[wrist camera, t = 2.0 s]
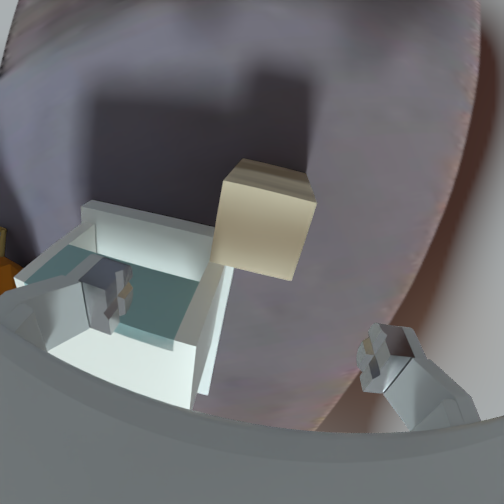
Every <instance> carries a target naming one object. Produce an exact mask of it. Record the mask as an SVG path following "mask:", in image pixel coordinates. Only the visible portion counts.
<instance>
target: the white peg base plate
mask: <svg viewBox="0 0 504 504" xmlns="http://www.w3.org/2000/svg"><path fill="white" fill-rule="evenodd" d="M81 220H82V223H83V222H88V223H91V224H94V226H95V244H96V253H98V254H102V255H105V256H108V257H112V258H115V259H119V260H122V261H125V262H129V263H132V264H136V265H139V266H143V267H146V268H150V269H154V270H157V271H161V272H165V273H168V274H172V275H176V276H180V277H183V278H187V279H191V280H195V281H199V282H200V280H201V278H202V275H203V273H204V271H205V269H206V267H207V265H208V262H209V260H210V254H211V248H212V242H213V236H214V230H215V227H212V226H207V225H203V224H199V223H194V222H190V221H186V220H181V219H177V218H173V217H168V216H164V215H159V214H155V213H150V212H146V211H141V210H137V209H132V208H128V207H123V206H119V205H114V204H110V203H105V202H100V201H96V200H91V201H89V202H87V203H86V204H84V205H82V206H81ZM234 269H235V268H234V267H230V266H226V269H225V274H224V279H223V285H222V290H221V295H220V300H219V306H218V311H217V316H216V322H215V327H214V333H213V338H212V343H211V346H210V350H209V353H208V357H207V360H206V364H205V367H204V370H203V374H202V377H201V381H200V384H199V388H198V391H197V393H201V394H204V395H208V392H209V389H210V385H211V380H212V375H213V370H214V365H215V360H216V355H217V350H218V345H219V340H220V336H221V331H222V326H223V321H224V316H225V312H226V307H227V302H228V297H229V293H230V288H231V283H232V279H233V274H234Z"/></svg>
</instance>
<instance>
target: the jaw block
mask: <svg viewBox="0 0 504 504" xmlns="http://www.w3.org/2000/svg"><path fill="white" fill-rule="evenodd" d="M316 205H317V202H316V199H315V196H314V194H313V191H312V188H311V186H310V183H309V180H308V177H307V175H306V173H302V172H298V171H295V170H291V169H287V168H283V167H279V166H275V165H271V164H267V163H262V162H258V161H254V160H249V159H245V158H242V159H241V161H240V162H239V163H238V164H237V165H236V166H235V167H234V169H233V170H232V171H231V172H230V173H229V174H228V176H227V177H226V178H225V179H224V180H223V185H222V191H221V196H220V201H219V207H218V213H217V218H216V224H215V230H214V236H213V242H212V248H211V254H210V260H209V262H213V263H217V264H222V265H226V266H230V267H234V268H238V269H242V270H246V271H251V272H255V273H259V274H263V275H267V276H272V277H276V278H280V279H285V280H289V281H291V280H292V277H293V274H294V272H295V269H296V266H297V263H298V260H299V257H300V254H301V251H302V248H303V245H304V242H305V239H306V236H307V233H308V230H309V227H310V224H311V221H312V217H313V214H314V211H315V208H316Z"/></svg>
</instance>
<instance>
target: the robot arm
mask: <svg viewBox="0 0 504 504" xmlns="http://www.w3.org/2000/svg"><path fill="white" fill-rule="evenodd" d="M132 277H133V273H132V267H131V266H130V265H128V264H125V263H121V262H118V261H115V260H112V259H109V258H105V257H103V256H100V255H96V254H90V255H89V256H88V257H87V258H86V259H84V260H83V261H82V262H81V263H80V264H79V265H77V266H76V267H75V268H74V269H73V270H72V271H71V272H70V273H68V274H67V275H66V276H64V275H60V276H56V277H53V278H49V279H46V280H42V281H39V282H35V283H32V284H29V285H25V286H22V287H18V288H15V289H12V290H8V291H5V292H4V293H3V294H2V295H1V296H0V504H504V416H500V417H496V418H493V419H489V420H484V421H481V420H480V417H479V414H478V412H477V409H476V407H475V405H474V402H473V400H472V398H471V396H470V395H469V394H468V393H467V392H466V391H465V390H463V389H462V388H461V387H460V386H459V385H458V384H457V383H456V382H455V381H454V380H453V379H451V378H450V377H449V376H448V375H447V374H446V373H445V372H444V371H443V370H442V369H440V368H439V367H438V366H437V365H436V364H435V363H434V362H433V361H431V360H430V359H427V358H426V355H425V353H424V351H423V349H422V347H421V345H420V342H419V340H418V338H417V336H416V334H415V332H414V330H413V329H411V328H409V327H401V326H399V327H398V326H392V325H385V324H379V323H374V324H373V325H372V326H371V328H370V329H369V331H368V334H369V337H368V338H367V339H365V340H363V341H362V343H361V345H360V346H359V348H358V352H357V366H358V368H359V369H360V370H361V371H362V374H361V376H360V380H361V385H362V389H363V392H373V393H384V396H385V397H386V399H387V400H388V401H389V403H390V404H391V406H392V407H393V408H394V410H395V411H396V412H397V414H398V415H399V417H400V418H401V419H402V421H403V422H404V423H405V425H406V426H407V428H408V429H409V430H410V432H396V433H395V432H394V433H332V432H316V431H304V430H294V429H286V428H278V427H271V426H264V425H258V424H252V423H247V422H241V421H236V420H231V419H227V418H222V417H218V416H213V415H209V414H205V413H201V412H197V411H193V410H190V409H186V408H183V407H179V406H176V405H172V404H169V403H166V402H163V401H160V400H156V399H153V398H151V397H148V396H145V395H142V394H139V393H136V392H134V391H131V390H128V389H126V388H123V387H120V386H118V385H115V384H113V383H111V382H108V381H106V380H103V379H101V378H99V377H97V376H94V375H92V374H90V373H88V372H86V371H83V370H81V369H79V368H77V367H75V366H73V365H71V364H69V363H67V362H65V361H63V360H61V359H59V358H57V357H55V356H54V355H52V354H50V353H48V351H49V350H51V349H52V348H54V347H56V346H58V345H60V344H62V343H64V342H65V341H67V340H69V339H71V338H73V337H75V336H77V335H79V334H80V333H82V332H84V331H86V330H88V329H89V328H92V329H95V330H97V331H100V332H103V333H106V334H108V335H112V333H113V332H114V330H115V329H116V327H117V326H118V324H119V323H120V319H119V317H120V316H122V315H125V314H126V313H127V311H128V310H129V308H130V305H131V303H132V299H133V287H132V286H131V284H130V282H129V281H130V280H131V278H132Z"/></svg>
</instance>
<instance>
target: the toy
mask: <svg viewBox="0 0 504 504" xmlns="http://www.w3.org/2000/svg"><path fill="white" fill-rule="evenodd" d="M0 232H1V237H0V296H1V295H2V294H3V293H4V292H5V291H8V290H12V289H15V288H17V287H16V284H15V280H14V276H15V275H17V274H18V273H19V272H20V271H21V270H22V269H24V268H23V267H22V266H20V265H18V264H17V263H15V262H13V261H11V260H9V259H8V258H6V257H5V243H6V232H7V229H5V228H3V227H0Z"/></svg>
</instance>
